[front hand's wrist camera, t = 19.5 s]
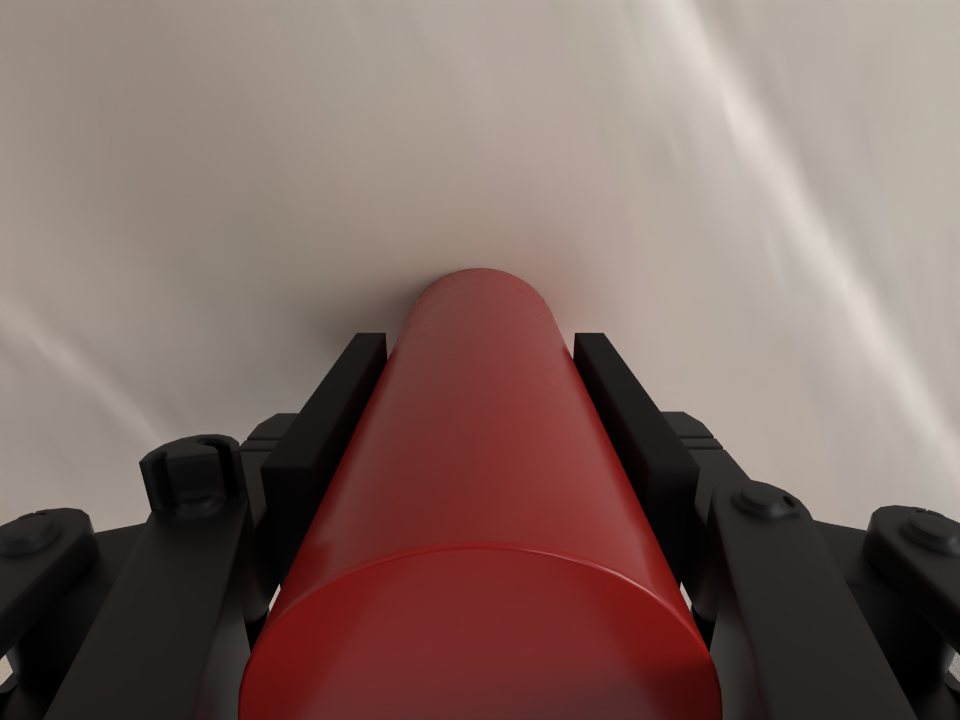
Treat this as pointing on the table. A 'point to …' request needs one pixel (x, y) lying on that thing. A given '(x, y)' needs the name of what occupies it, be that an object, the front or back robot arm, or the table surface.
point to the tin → (480, 545)
